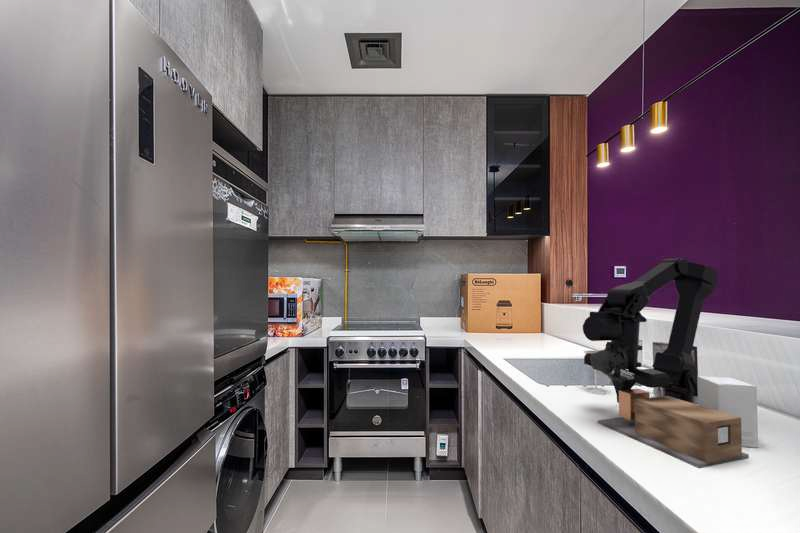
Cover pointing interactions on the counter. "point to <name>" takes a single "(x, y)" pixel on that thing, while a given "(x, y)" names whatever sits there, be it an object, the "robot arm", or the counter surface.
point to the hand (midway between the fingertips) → (620, 403)
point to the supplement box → (732, 403)
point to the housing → (682, 430)
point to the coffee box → (660, 348)
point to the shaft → (630, 395)
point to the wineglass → (595, 378)
